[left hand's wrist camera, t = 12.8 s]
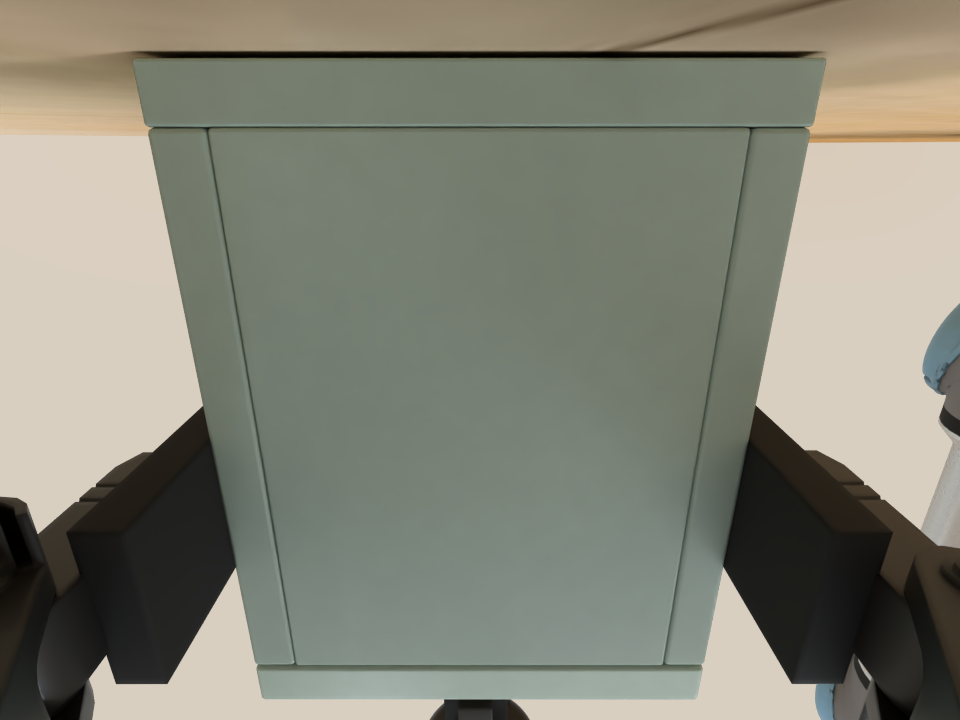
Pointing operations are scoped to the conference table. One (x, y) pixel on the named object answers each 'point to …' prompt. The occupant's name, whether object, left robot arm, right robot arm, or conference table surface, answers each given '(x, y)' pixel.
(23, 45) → the conference table surface
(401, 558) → the chest
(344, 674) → the lid
